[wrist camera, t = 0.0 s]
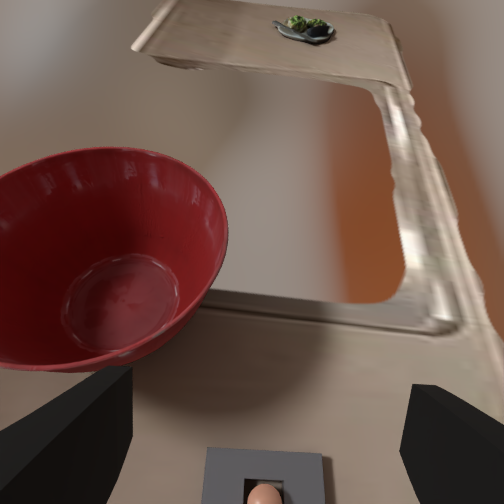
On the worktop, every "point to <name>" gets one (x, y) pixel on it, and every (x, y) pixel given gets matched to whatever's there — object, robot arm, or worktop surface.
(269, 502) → the terracotta button
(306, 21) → the salad plate
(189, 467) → the worktop surface
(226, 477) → the button panel
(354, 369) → the worktop surface
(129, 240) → the mixing bowl
